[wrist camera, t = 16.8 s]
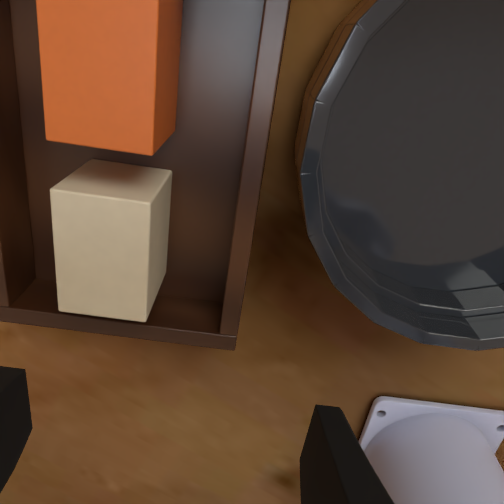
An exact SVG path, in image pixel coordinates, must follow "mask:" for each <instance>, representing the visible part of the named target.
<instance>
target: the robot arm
mask: <svg viewBox="0 0 504 504" xmlns="http://www.w3.org/2000/svg"><path fill="white" fill-rule="evenodd" d="M382 410H383V411H382ZM378 411H381V412H378ZM31 430H32V420H31V412H30V404H29V396H28V388H27V380H26V372H25V369H19V368H11V367H3V366H0V493H1V491H2V489H3V488H4V486H5V484H6V483H7V481H8V479H9V477H10V476H11V474H12V472H13V470H14V468H15V466H16V464H17V462H18V460H19V458H20V455H21V453H22V451H23V449H24V447H25V444H26V442H27V440H28V437H29V435H30V433H31ZM503 438H504V411H501V410H492V409H484V408H476V407H468V406H460V405H452V404H444V403H436V402H428V401H420V400H411V399H403V398H395V397H387V396H380V397H377V398H376V399H375V400H374V401H373V404H372V407H371V409H370V412H369V415H368V418H367V420H366V423H365V426H364V428H363V431H362V434H361V436H360V439H359V442H358V440H357V438H356V436H355V435H354V433H353V431H352V429H351V427H350V425H349V423H348V421H347V419H346V417H345V415H344V413H343V411H342V410H341V409H340V408H339V407H332V406H324V405H315V408H314V412H313V415H312V419H311V422H310V426H309V429H308V433H307V436H306V439H305V443H304V446H303V450H302V453H301V457H300V489H301V504H504V471H503V469H502V467H501V466H500V464H499V462H498V460H497V458H496V457H495V455H494V454H495V452H496V450H497V449H498V447H499V445H500V444H501V442H502V440H503Z"/></svg>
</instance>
